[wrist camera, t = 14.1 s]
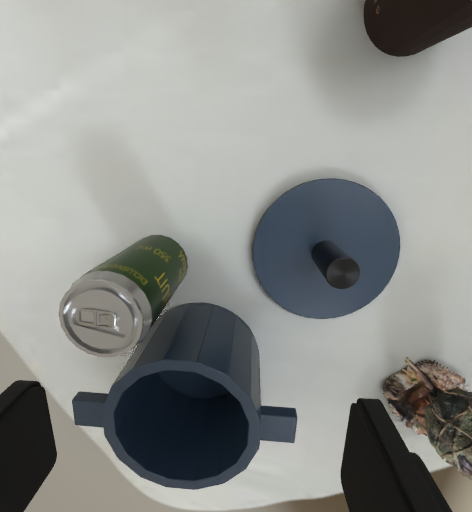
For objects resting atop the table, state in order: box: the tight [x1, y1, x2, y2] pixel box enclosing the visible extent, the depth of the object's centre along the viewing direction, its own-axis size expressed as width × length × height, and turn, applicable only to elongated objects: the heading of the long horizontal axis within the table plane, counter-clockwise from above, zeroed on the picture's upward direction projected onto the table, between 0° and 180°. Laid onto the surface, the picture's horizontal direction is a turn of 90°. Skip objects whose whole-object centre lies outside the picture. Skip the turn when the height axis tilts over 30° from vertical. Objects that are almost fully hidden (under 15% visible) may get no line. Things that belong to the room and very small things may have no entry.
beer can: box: [59, 235, 188, 357], centre depth 23 cm, size 5×5×12 cm
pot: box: [72, 303, 297, 490], centre depth 27 cm, size 12×17×10 cm
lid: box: [253, 179, 400, 319], centre depth 25 cm, size 13×13×7 cm
